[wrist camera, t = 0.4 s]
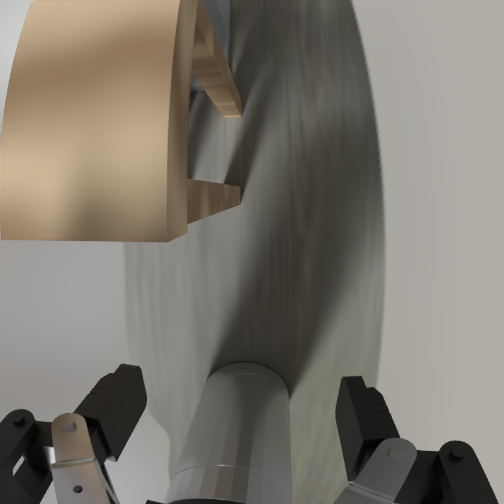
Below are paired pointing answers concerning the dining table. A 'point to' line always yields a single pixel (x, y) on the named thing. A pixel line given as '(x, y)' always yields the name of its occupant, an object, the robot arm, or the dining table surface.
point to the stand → (217, 30)
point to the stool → (109, 121)
